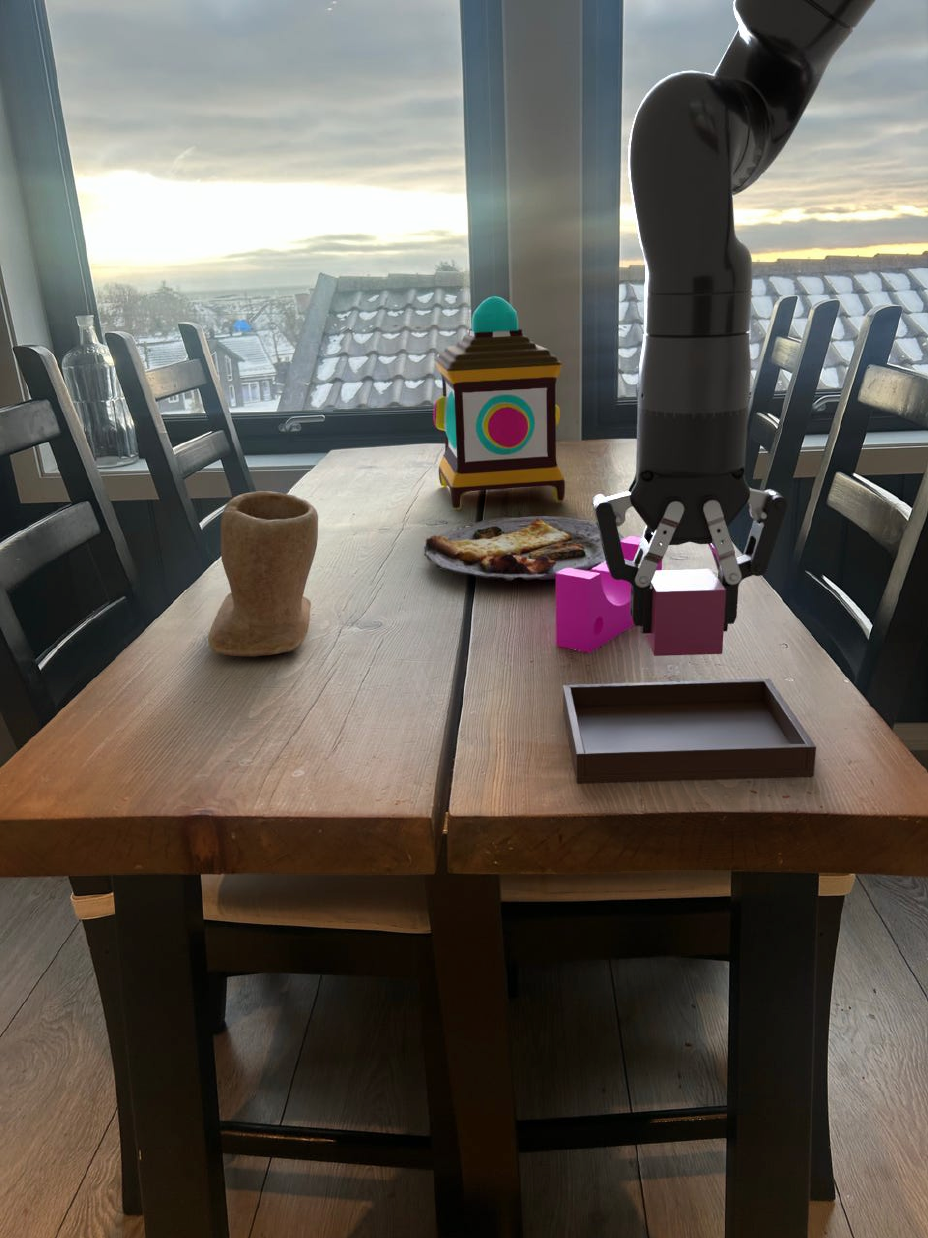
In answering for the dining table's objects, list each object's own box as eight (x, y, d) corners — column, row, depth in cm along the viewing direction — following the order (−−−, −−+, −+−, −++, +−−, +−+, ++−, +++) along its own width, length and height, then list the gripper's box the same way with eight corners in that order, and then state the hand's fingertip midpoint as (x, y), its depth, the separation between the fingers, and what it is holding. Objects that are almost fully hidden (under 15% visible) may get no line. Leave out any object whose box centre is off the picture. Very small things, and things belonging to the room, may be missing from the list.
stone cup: (323, 662, 96) (309, 510, 91) (199, 668, 96) (178, 517, 91) (335, 609, 111) (324, 475, 105) (227, 614, 110) (210, 480, 105)
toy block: (609, 598, 111) (610, 532, 108) (660, 607, 107) (662, 540, 104) (534, 640, 100) (533, 568, 97) (589, 653, 96) (589, 579, 93)
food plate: (479, 605, 110) (478, 575, 109) (394, 555, 129) (392, 528, 128) (662, 566, 120) (663, 538, 119) (558, 525, 140) (557, 500, 139)
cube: (707, 629, 78) (710, 568, 76) (722, 654, 73) (726, 589, 71) (643, 631, 78) (644, 570, 76) (653, 656, 73) (656, 591, 72)
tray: (767, 704, 84) (769, 678, 83) (813, 776, 73) (816, 747, 72) (562, 710, 84) (562, 684, 84) (576, 783, 73) (576, 754, 72)
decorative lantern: (575, 504, 151) (575, 295, 140) (445, 513, 148) (435, 302, 138) (547, 476, 169) (545, 290, 159) (430, 484, 167) (421, 296, 156)
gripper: (595, 412, 66) (592, 651, 72) (814, 404, 66) (793, 645, 72) (583, 396, 73) (581, 614, 79) (781, 389, 73) (764, 609, 79)
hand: (682, 628), depth 75 cm, fingers closed on cube, 5 cm apart
